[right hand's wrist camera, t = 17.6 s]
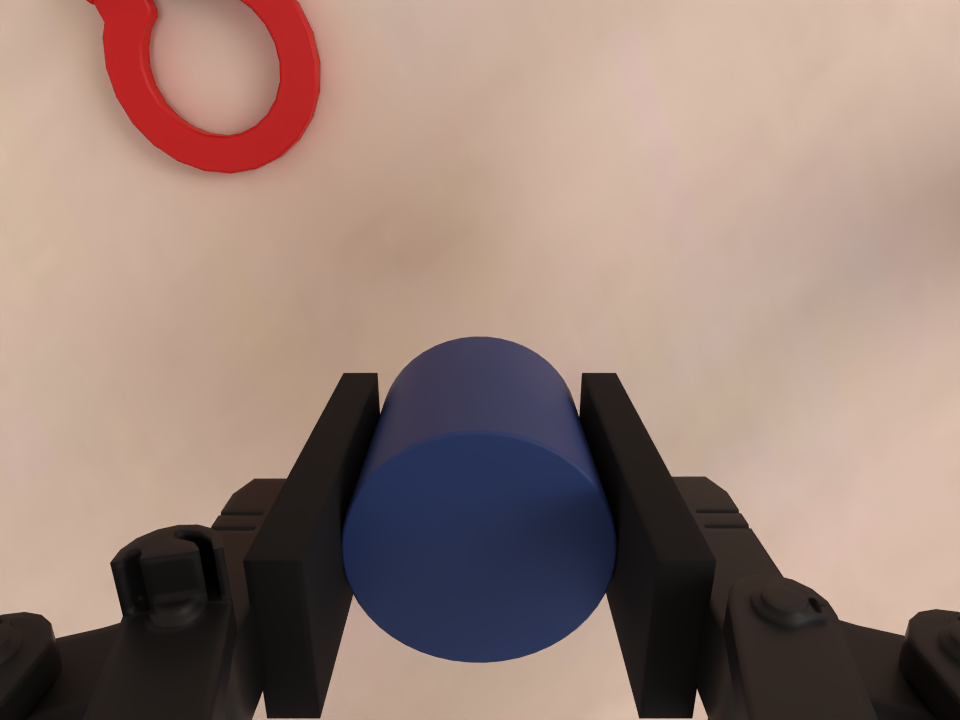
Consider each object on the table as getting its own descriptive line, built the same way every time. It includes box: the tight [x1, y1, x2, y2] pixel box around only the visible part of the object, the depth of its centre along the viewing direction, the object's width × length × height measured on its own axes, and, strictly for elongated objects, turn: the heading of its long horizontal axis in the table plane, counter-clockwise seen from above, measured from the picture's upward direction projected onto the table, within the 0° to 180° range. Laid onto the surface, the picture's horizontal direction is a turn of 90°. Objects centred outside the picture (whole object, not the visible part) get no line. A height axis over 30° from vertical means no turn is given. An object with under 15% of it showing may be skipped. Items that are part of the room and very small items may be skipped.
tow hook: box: [87, 0, 320, 173], centre depth 21 cm, size 8×13×9 cm
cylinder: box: [341, 337, 617, 663], centre depth 13 cm, size 5×5×5 cm
